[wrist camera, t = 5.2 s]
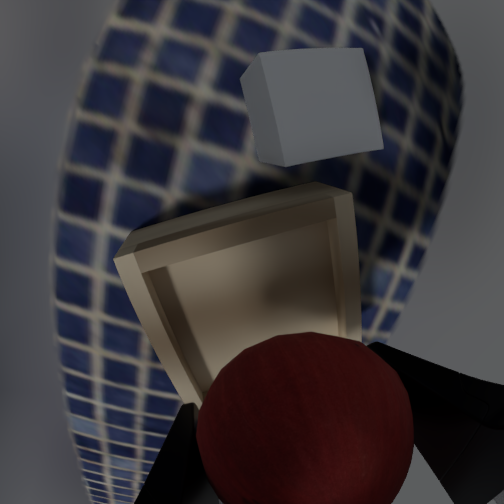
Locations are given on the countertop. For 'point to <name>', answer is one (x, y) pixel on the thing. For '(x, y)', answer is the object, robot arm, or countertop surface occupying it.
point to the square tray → (243, 278)
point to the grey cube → (311, 105)
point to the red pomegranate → (306, 424)
